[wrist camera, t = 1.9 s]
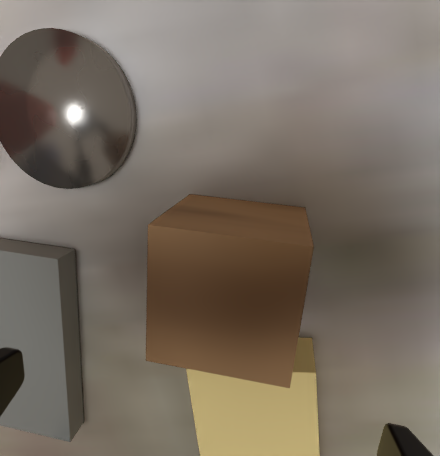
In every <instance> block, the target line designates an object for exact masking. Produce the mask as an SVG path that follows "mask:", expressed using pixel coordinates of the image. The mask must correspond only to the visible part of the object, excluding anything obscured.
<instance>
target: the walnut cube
mask: <svg viewBox="0 0 440 456" xmlns="http://www.w3.org/2000/svg"><path fill="white" fill-rule="evenodd" d="M313 248H314V245H313V241H312V236H311V232H310V227H309V223H308V218H307V214H306V209H305V207H296V206H287V205H279V204H270V203H262V202H253V201H244V200H236V199H227V198H218V197H210V196H201V195H192V194H189V195H188V196H187V197H185V198H184V199H183V200H181V201H180V202H179V203H177V204H176V205H174V206H173V207H172V208H170V209H169V210H168V211H166V212H165V213H163V214H162V215H161V216H159V217H158V218H157V219H155V220H154V221H153V222H151V223H150V224H148V257H147V321H146V361H150V362H156V363H161V364H166V365H171V366H176V367H182V368H187V369H192V370H197V371H202V372H207V373H213V374H218V375H223V376H228V377H233V378H238V379H244V380H249V381H254V382H259V383H264V384H269V385H275V386H280V387H285V388H290V385H291V379H292V373H293V367H294V361H295V355H296V349H297V343H298V337H299V331H300V325H301V319H302V313H303V308H304V302H305V296H306V290H307V284H308V278H309V272H310V266H311V260H312V254H313Z"/></svg>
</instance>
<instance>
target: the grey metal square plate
mask: <svg viewBox="0 0 440 456" xmlns="http://www.w3.org/2000/svg"><path fill="white" fill-rule="evenodd" d="M4 347H9V348H14V349H19V350H20V351H21V352H22V355H23V364H24V373H25V377H24V381H23V384H22V386H21V387H20V389H19V390H18V392H17V393H16V395H15V396H14V398H13V399H12V401H11V402H10V403H9V405H8V406H7V408H6V409H5V411H4V412H3V414H2V415H1V417H0V425H1V426H5V427H9V428H14V429H18V430H22V431H26V432H30V433H35V434H39V435H43V436H47V437H51V438H56V439H60V440H64V441H68V442H71V440H72V439H73V437H74V436H75V434H76V433H77V431H78V430H79V428H80V427H81V425H82V424H83V423H84V415H83V396H82V377H81V358H80V339H79V319H78V300H77V281H76V262H75V249H71V248H64V247H57V246H50V245H44V244H37V243H30V242H23V241H16V240H10V239H3V238H0V349H1V348H4Z"/></svg>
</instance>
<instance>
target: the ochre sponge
mask: <svg viewBox="0 0 440 456" xmlns="http://www.w3.org/2000/svg"><path fill="white" fill-rule="evenodd" d="M186 371H187V377H188V384H189V390H190V396H191V402H192V408H193V415H194V421H195V427H196V433H197V439H198V446H199V452H200V456H320V455H319V432H318V409H317V386H316V369H315V361H314V352H313V343H312V338H298V343H297V349H296V355H295V361H294V367H293V373H292V379H291V385H290V388H285V387H280V386H275V385H269V384H264V383H259V382H254V381H249V380H244V379H238V378H233V377H228V376H223V375H218V374H213V373H207V372H202V371H197V370H192V369H187V368H186Z"/></svg>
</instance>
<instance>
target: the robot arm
mask: <svg viewBox="0 0 440 456" xmlns="http://www.w3.org/2000/svg"><path fill="white" fill-rule="evenodd" d="M24 377H25V373H24V364H23V355H22V352H21V351H20V350H19V349H14V348H9V347H4V348H1V349H0V417H1V415H2V414H3V412H4V411H5V409H6V408H7V406H8V405H9V403H10V402H11V401H12V399H13V398H14V396H15V395H16V393H17V392H18V390H19V389H20V387H21V386H22V384H23V381H24ZM377 456H433V455H432V453H431V452H430V451H429V450H428V449H427V448H426V447H425V446H424V445H423V444H422V443H421V442H420V441H419V440H418V438H417V437H416V436H415V435H414V434H413V433H412V432H411V431H410V430H409V429H408V428H407V427H405V426H401V425H396V424H391V423H388V424H386V425H385V427H384V429H383V433H382V436H381V440H380V444H379V447H378V451H377Z"/></svg>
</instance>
